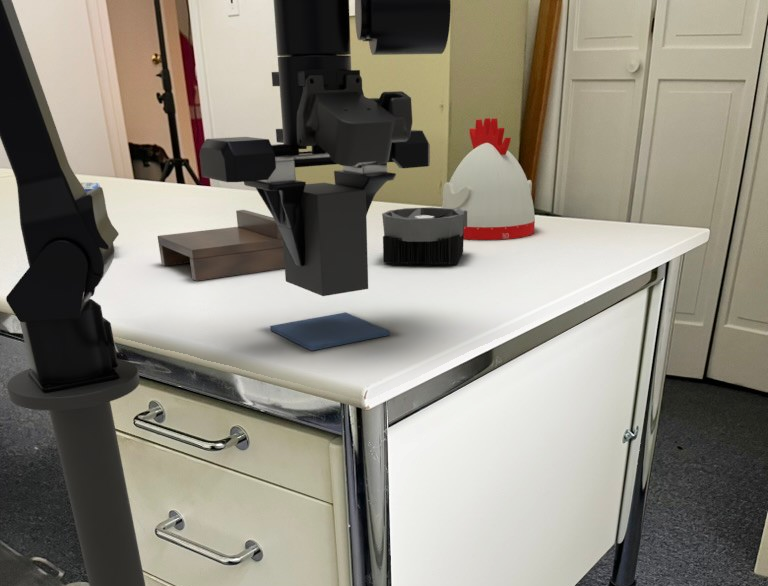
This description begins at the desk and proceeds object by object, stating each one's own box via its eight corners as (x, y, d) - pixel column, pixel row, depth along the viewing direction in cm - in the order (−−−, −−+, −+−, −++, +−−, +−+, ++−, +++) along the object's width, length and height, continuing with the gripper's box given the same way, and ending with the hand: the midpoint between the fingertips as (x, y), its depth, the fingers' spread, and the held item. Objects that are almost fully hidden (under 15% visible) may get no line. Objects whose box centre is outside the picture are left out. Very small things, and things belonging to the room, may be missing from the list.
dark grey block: (322, 296, 67) (317, 194, 64) (285, 281, 73) (278, 186, 69) (368, 288, 69) (366, 189, 66) (329, 275, 75) (324, 182, 71)
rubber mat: (311, 350, 68) (310, 346, 68) (270, 330, 74) (269, 325, 74) (390, 335, 72) (390, 330, 72) (345, 316, 78) (345, 312, 78)
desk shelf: (196, 281, 93) (189, 231, 90) (161, 264, 102) (154, 218, 99) (289, 267, 99) (285, 220, 96) (248, 253, 108) (244, 209, 105)
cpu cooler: (375, 217, 95) (390, 205, 104) (376, 266, 98) (390, 250, 107) (462, 217, 94) (469, 205, 102) (460, 268, 96) (468, 251, 105)
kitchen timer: (493, 221, 127) (497, 115, 120) (554, 232, 117) (562, 117, 110) (421, 230, 121) (421, 119, 113) (478, 243, 110) (482, 122, 103)
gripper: (246, 53, 52) (267, 295, 60) (473, 52, 61) (466, 263, 68) (185, 58, 61) (210, 269, 68) (392, 57, 69) (394, 244, 77)
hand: (324, 262), depth 70 cm, fingers closed on dark grey block, 4 cm apart
